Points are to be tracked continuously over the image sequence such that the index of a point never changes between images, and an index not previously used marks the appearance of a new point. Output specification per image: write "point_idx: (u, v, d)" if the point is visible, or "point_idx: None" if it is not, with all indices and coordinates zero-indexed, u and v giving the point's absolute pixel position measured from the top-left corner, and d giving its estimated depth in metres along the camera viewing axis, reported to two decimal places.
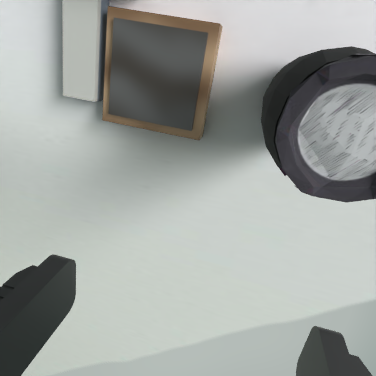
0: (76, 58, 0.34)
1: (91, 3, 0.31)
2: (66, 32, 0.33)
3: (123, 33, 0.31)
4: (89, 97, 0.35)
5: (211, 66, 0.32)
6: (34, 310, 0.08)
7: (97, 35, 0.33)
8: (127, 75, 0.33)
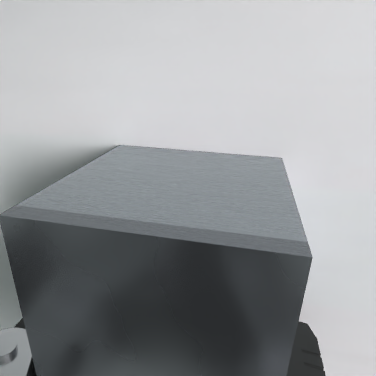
0: None
1: None
2: None
3: None
4: None
5: None
6: None
7: None
8: None
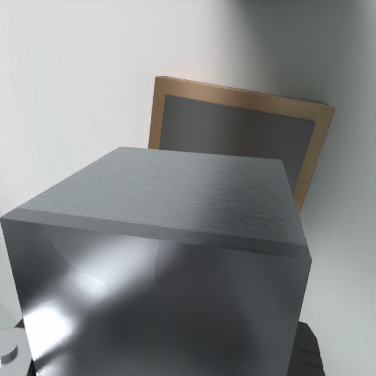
0: None
1: None
2: None
3: None
4: None
5: (212, 88, 0.20)
6: None
7: None
8: None
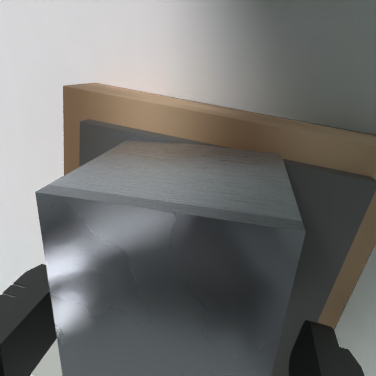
0: None
1: None
2: None
3: None
4: None
5: (170, 109, 0.10)
6: (45, 308, 0.08)
7: None
8: None
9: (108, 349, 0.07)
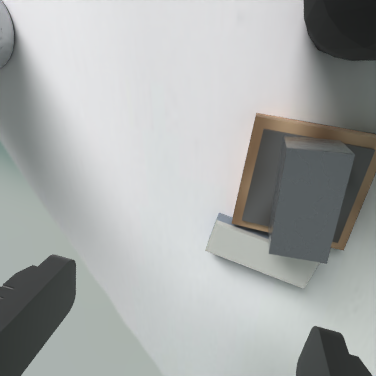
0: (272, 263, 0.34)
1: (230, 234, 0.34)
2: (248, 263, 0.35)
3: (256, 213, 0.32)
4: (313, 265, 0.33)
5: (298, 124, 0.28)
6: (34, 310, 0.08)
7: (257, 238, 0.33)
8: None
9: (295, 194, 0.25)
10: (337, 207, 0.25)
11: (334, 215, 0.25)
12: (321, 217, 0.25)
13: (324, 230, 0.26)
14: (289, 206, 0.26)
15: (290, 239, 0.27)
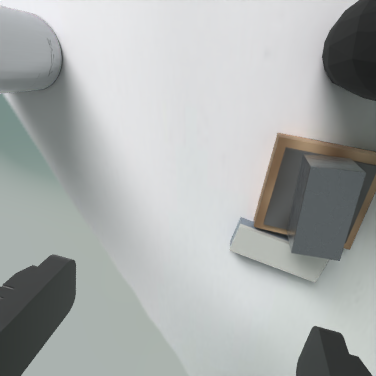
0: (288, 261, 0.39)
1: (252, 235, 0.39)
2: (267, 261, 0.40)
3: (276, 218, 0.37)
4: (324, 261, 0.38)
5: (314, 144, 0.34)
6: (34, 310, 0.08)
7: (276, 239, 0.39)
8: None
9: (316, 204, 0.30)
10: (350, 214, 0.30)
11: (347, 221, 0.30)
12: (336, 222, 0.31)
13: (338, 233, 0.31)
14: (310, 214, 0.31)
15: (310, 241, 0.32)
